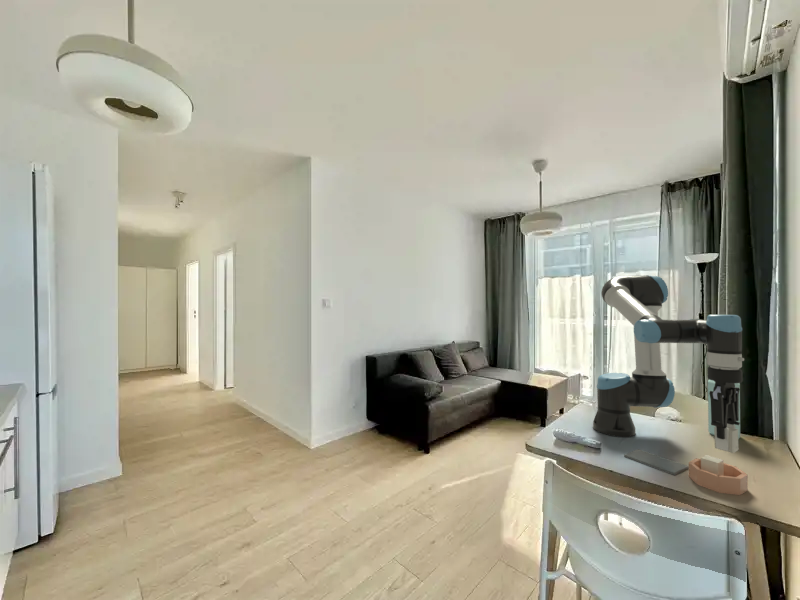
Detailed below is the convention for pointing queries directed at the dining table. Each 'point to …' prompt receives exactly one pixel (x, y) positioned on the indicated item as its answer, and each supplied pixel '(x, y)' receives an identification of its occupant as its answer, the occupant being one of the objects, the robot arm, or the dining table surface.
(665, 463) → the slate board
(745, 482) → the bowl
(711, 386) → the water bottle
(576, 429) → the dining table surface
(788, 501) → the dining table surface
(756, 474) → the dining table surface
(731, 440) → the stone
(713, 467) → the stone
